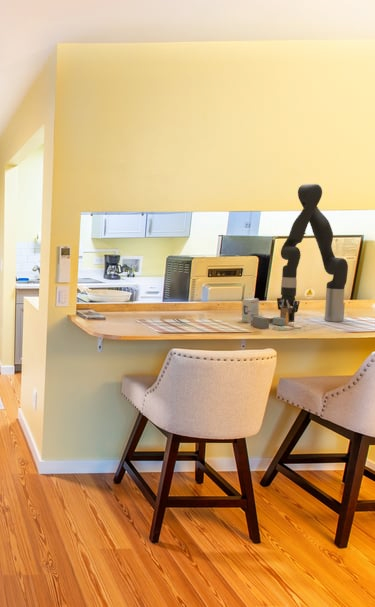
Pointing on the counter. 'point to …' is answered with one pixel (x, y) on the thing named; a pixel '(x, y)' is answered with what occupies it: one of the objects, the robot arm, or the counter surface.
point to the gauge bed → (264, 324)
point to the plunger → (282, 321)
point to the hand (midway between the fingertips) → (287, 319)
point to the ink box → (249, 309)
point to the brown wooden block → (283, 313)
